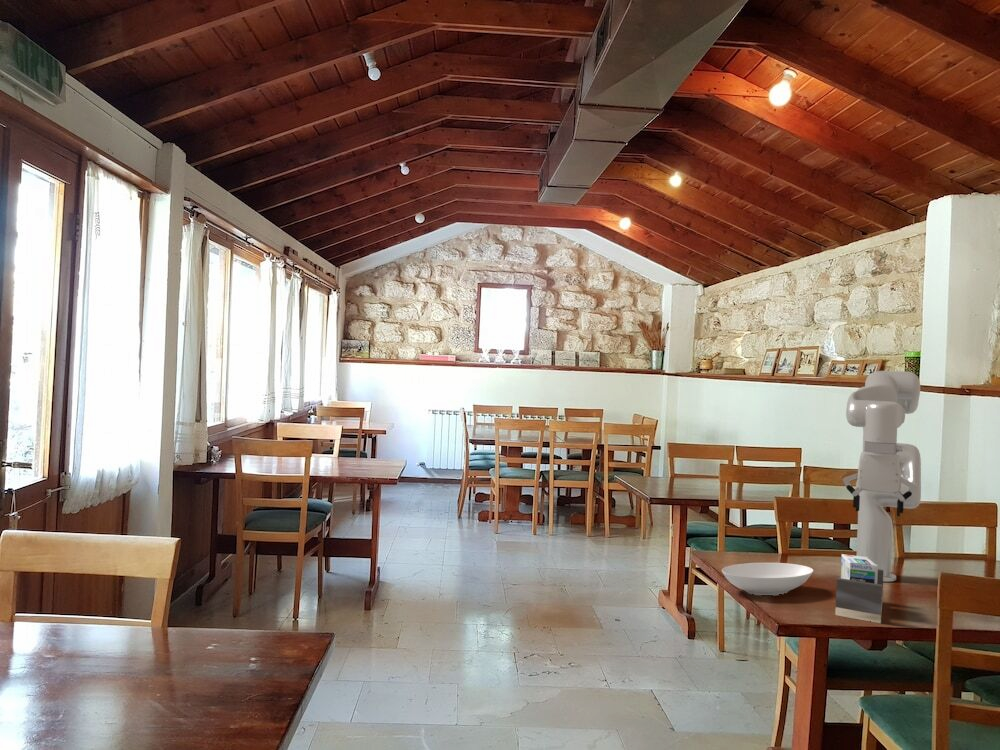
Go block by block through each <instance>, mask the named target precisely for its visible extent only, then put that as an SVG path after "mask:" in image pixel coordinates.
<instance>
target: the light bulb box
mask: <svg viewBox="0 0 1000 750" xmlns="http://www.w3.org/2000/svg"><path fill="white" fill-rule="evenodd" d="M840 564H841V571H840V578H842V579H849V580H855V581H861V582H868V583H874V584H877V578H878V565H876V564H875V563H873V562H872V561H871V560H870V559H869V558H868V557H863V556H857V555H854V554H853V555H852V554H843V553H841V563H840Z"/></svg>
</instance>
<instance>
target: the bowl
mask: <svg viewBox="0 0 1000 750" xmlns="http://www.w3.org/2000/svg"><path fill="white" fill-rule="evenodd" d="M721 572H722V575H724V577H725V578H726V580H727V581H728V582H729V583H730V584H732V585H733V586H734V587H736V588H738V589H740V590H742V591H744V592H746V593H747V594H749V595H752V594H754V596H761V595H773V596H780V595H779V594H782V595H785V594H787V593H789V592H790V591H793V590H795V589H796V588H798V587H800V586H802V585H803V584H805V583H806V582H807V581H808V579H809V578H810V577H811V576H812V574H813V573H814V569H813V568H812V567H810V566H807V565H803V564H796V563H786V562H784V563H783V562H749V563H738V564H732V565H729V566H728V565H727V566H724V567H723V568H721ZM784 593H785V594H784Z"/></svg>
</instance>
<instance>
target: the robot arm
mask: <svg viewBox="0 0 1000 750" xmlns="http://www.w3.org/2000/svg"><path fill="white" fill-rule="evenodd" d="M864 383H865V384H864V386H862V387H860V388H858V389H857V390H856V391H853V392H852V393H851V394H850V395H849V396H848V399H847V401H846V402H847V403H846V408H845V409H846V410H845V411H846V412H845V417H846V420H847V423H848V424H849V425H850V426H853V427H856V428H857V427H858V428H862V433H863V434H862V452H861V453H860V457H859V460H858V461H859V462H858V469H857V472H856V473H854V474H851V475H848V476H845V477H843V478H842V482H843V484H844V486H845V487H846V490H847V491H848V492H850V494H851V495H852V496H853V498H852V499H853V501H852V507H853V508H855V512H857V531H856V532H857V535H856V556H863V557H868V558H869V559H870V560H871V561H872V562H873V563H875V564H876V565H878V569H881V570H883V583H884V582H889V583H890V582H895V581H897V575H896V574H894V573H891V572H892V552H893V551H892V549H893V527H894V526H893V519H892V517H891V516H890V515H889V513H888V512H887V511H886V510H885V509H884V508H886V507H890V508H896V517H900V516H901V514H904V509H909V510H911V509H916V508H918V507H919V506H920V503H921V499H922V462H921V461H922V459H921V458H922V457H921V453H920V450H919V448H918V447H917V446H916V445H913V444H911V443H899V442H897V441H898V428H900V427H901V426H902V425H903V424H904V423H905V420H906V415H909V414H914V413H915V412H916V411H917V409H918V406H919V402H920V401H919V400H920V396H921V395H920V394H921V381H920V379H919V377H918V375H917V374H915V373H914V372H912V371H907V370H906V371H902V370H901V371H900V370H897V371H896V370H878V371H877V370H876V371H874V372H871V373H870V374H868V376H867V377H866V379H865V382H864ZM856 479H857V480H856ZM853 480H856V482H855V488H854V487H853V485H852V484H851V483H850V482H851V481H853Z"/></svg>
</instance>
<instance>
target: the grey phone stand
mask: <svg viewBox="0 0 1000 750" xmlns="http://www.w3.org/2000/svg"><path fill="white" fill-rule="evenodd" d="M835 587H836V590H835V611H834V613H835V614H834V615H835V616H837V617H843V618H850V619H853V620H854V619H855V620H860V621H866V622H870V621H871V623H876V624H882V613H883V593H884V591H883V590H884V582H883V570H881V569H878V578H877V584H874V583H868V582H861V581H855V580H849V579H842V578H841V577H837V578H836V586H835Z"/></svg>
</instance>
